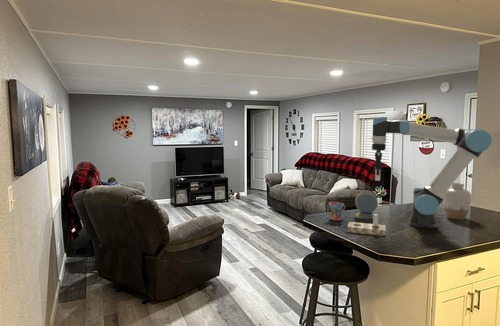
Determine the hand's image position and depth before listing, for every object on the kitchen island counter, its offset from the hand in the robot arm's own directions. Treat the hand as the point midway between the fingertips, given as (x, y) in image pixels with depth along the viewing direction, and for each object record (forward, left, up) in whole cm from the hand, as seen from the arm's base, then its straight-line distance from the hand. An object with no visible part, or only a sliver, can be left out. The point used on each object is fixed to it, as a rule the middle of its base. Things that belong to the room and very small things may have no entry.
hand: (377, 179), depth 201 cm
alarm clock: (+6, -21, -29) cm, 36 cm away
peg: (0, +13, -29) cm, 32 cm away
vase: (-50, -39, -29) cm, 70 cm away
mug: (+23, -7, -29) cm, 38 cm away
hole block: (+5, +13, -29) cm, 32 cm away
